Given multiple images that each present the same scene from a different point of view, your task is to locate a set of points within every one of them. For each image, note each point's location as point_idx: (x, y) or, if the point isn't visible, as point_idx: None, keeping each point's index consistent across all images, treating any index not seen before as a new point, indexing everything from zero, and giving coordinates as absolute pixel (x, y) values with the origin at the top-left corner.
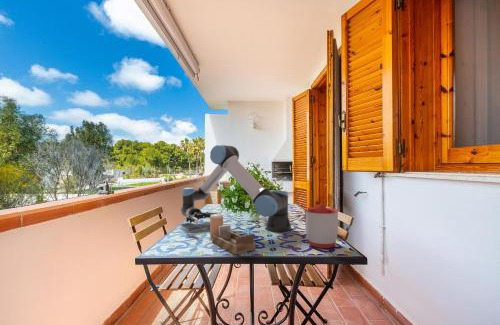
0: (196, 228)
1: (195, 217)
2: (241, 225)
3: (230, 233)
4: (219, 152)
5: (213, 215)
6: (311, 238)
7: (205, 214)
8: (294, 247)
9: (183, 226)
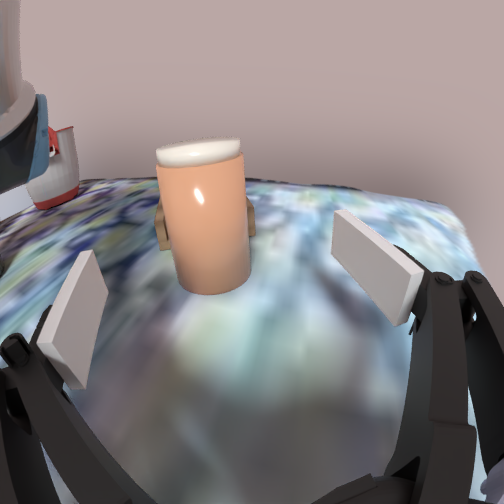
0: None
1: (398, 464)
2: None
3: (164, 222)
4: None
5: (219, 140)
6: (77, 178)
7: (136, 499)
8: (98, 196)
9: None
